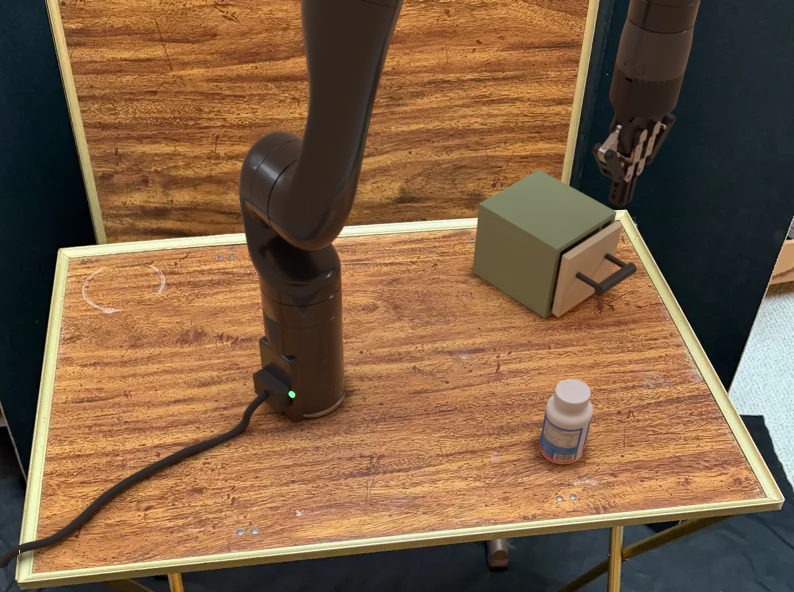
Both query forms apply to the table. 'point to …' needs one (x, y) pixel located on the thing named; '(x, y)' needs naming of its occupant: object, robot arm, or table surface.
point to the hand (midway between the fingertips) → (619, 202)
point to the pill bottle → (566, 422)
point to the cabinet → (532, 236)
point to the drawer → (589, 268)
